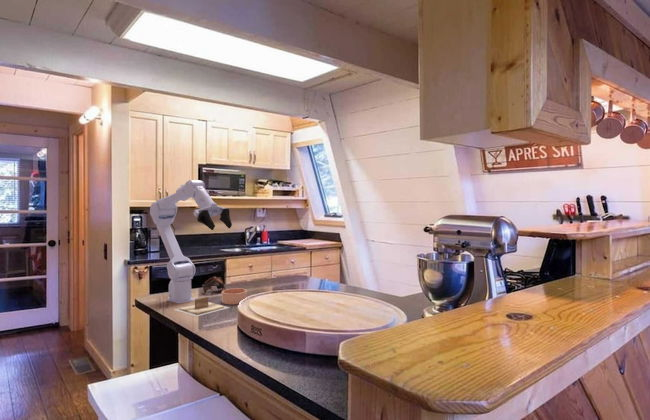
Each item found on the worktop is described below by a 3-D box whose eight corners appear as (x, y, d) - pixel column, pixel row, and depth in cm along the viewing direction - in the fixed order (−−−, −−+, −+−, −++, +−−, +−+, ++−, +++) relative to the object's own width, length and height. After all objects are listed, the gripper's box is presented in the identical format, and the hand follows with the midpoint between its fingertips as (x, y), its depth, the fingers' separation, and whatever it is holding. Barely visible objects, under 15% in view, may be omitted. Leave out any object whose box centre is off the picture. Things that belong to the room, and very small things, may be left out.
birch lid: (179, 309, 162) (178, 298, 161) (205, 302, 171) (205, 292, 171) (197, 314, 154) (197, 303, 154) (224, 307, 163) (224, 297, 163)
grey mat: (173, 310, 161) (173, 309, 161) (206, 302, 173) (206, 301, 173) (196, 317, 152) (196, 316, 152) (229, 308, 164) (229, 307, 164)
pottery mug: (224, 296, 186) (214, 281, 184) (206, 304, 188) (196, 289, 186) (232, 283, 197) (222, 269, 195) (215, 291, 199) (205, 277, 197)
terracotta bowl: (217, 302, 173) (216, 291, 173) (236, 297, 180) (236, 287, 180) (232, 306, 166) (232, 295, 166) (252, 301, 174) (251, 290, 174)
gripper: (192, 195, 156) (209, 220, 150) (224, 194, 167) (241, 218, 161) (185, 209, 159) (202, 234, 153) (218, 207, 170) (234, 231, 164)
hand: (222, 227), depth 157 cm, fingers open, 7 cm apart
